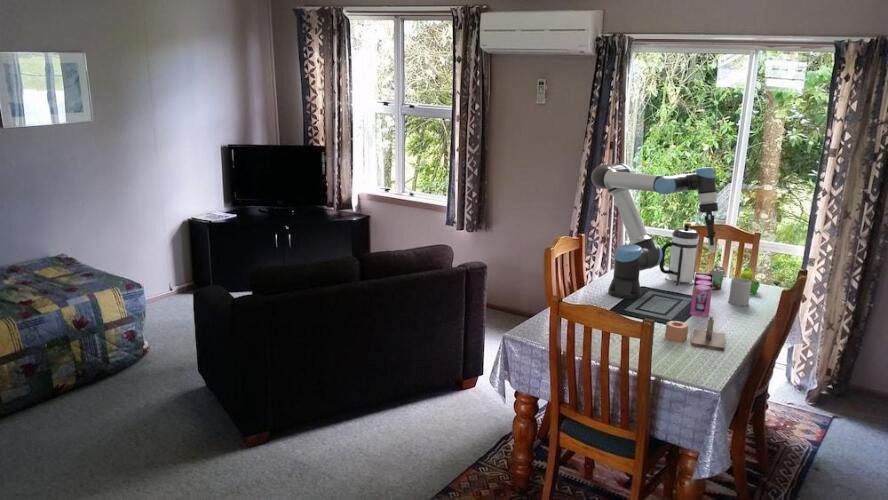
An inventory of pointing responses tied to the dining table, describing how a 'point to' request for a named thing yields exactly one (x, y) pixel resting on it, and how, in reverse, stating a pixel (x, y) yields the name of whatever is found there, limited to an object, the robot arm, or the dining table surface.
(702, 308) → the gum box
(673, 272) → the coffee press
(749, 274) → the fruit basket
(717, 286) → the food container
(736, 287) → the mug
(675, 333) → the hex nut
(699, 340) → the peg board
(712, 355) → the dining table surface
